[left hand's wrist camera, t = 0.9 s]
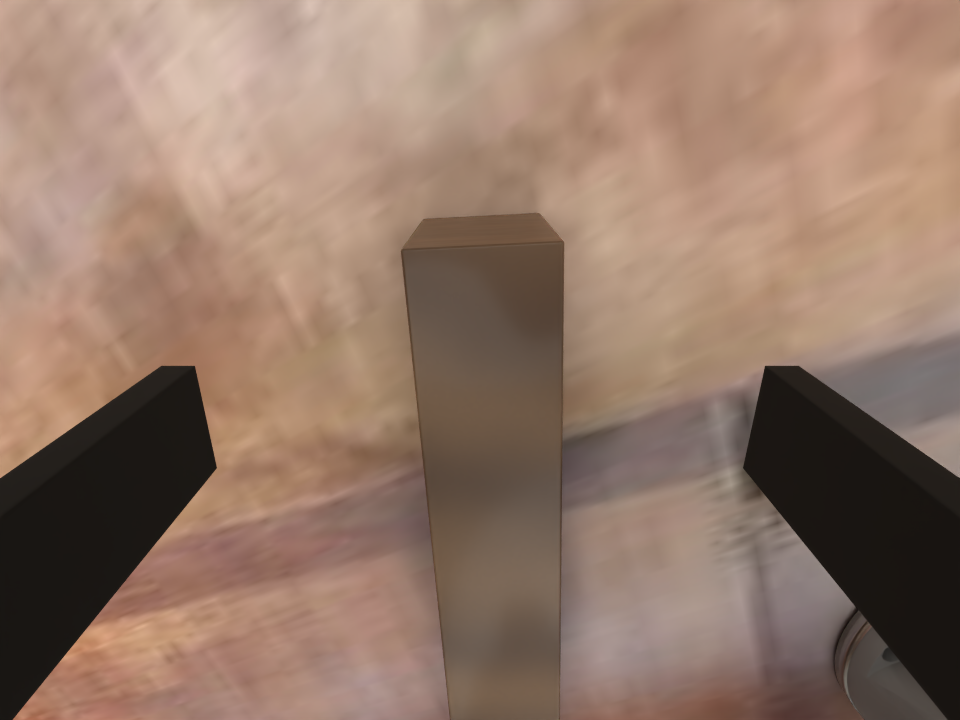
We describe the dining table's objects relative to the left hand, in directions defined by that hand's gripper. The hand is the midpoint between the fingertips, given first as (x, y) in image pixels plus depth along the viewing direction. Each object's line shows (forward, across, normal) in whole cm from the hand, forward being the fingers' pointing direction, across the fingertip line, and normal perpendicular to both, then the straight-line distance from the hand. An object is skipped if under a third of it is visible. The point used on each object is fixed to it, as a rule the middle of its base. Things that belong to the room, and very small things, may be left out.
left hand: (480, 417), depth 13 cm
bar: (+15, +2, -33) cm, 36 cm away
